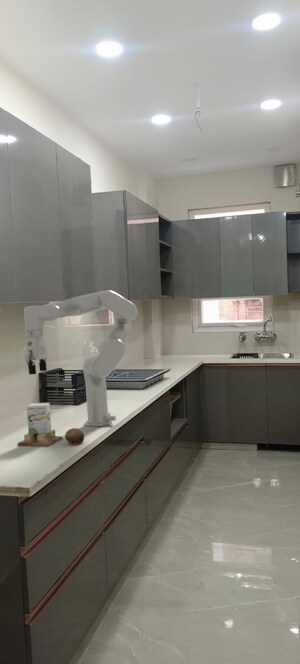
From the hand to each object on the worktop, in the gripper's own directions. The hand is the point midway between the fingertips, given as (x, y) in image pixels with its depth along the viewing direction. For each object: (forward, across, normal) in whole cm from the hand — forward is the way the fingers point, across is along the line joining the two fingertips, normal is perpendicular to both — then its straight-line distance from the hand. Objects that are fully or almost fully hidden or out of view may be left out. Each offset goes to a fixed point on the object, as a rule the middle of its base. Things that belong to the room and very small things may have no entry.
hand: (38, 372), depth 224 cm
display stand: (+27, -15, -6) cm, 32 cm away
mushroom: (+28, -16, -22) cm, 39 cm away
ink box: (+23, -15, -7) cm, 28 cm away
